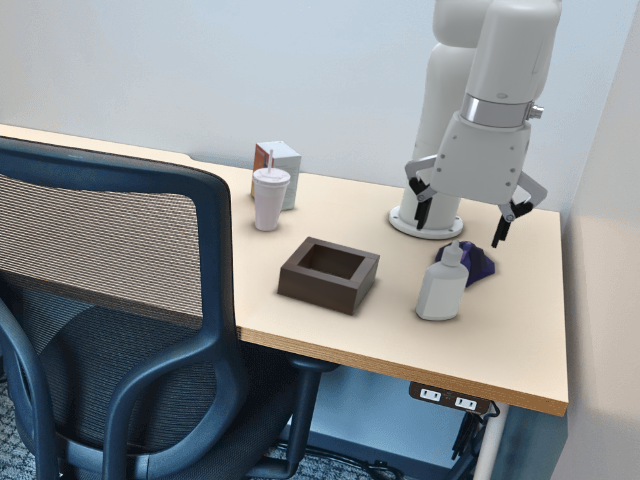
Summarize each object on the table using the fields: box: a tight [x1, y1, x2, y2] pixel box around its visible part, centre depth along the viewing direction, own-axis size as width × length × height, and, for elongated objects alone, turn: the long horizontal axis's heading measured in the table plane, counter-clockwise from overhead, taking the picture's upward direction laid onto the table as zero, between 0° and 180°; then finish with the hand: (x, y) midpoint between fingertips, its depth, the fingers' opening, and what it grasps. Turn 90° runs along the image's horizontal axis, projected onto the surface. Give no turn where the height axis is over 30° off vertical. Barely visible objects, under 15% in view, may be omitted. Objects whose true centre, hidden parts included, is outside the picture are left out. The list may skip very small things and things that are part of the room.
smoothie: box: [251, 149, 290, 232], centre depth 119 cm, size 6×6×14 cm
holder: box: [276, 236, 381, 317], centre depth 105 cm, size 12×12×4 cm
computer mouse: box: [434, 240, 496, 289], centre depth 110 cm, size 9×15×4 cm, turn 149°
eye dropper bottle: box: [415, 239, 469, 321], centre depth 97 cm, size 4×6×12 cm
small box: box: [250, 140, 302, 211], centre depth 128 cm, size 8×6×10 cm
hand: (457, 234), depth 94 cm, fingers open, 9 cm apart
